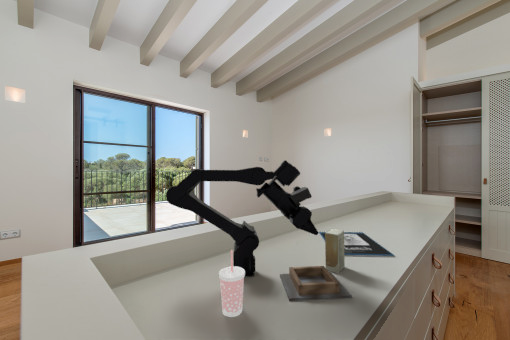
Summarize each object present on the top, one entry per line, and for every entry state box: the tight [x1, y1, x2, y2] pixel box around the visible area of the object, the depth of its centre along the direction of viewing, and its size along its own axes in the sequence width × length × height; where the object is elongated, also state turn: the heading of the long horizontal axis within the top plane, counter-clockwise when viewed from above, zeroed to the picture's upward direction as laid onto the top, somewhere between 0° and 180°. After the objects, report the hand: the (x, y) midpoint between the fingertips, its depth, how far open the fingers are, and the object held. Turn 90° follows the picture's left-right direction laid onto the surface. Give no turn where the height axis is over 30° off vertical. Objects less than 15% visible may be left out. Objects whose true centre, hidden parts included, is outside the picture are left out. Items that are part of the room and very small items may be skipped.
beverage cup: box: [218, 249, 245, 318], centre depth 52 cm, size 6×6×14 cm
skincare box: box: [324, 228, 346, 274], centre depth 73 cm, size 6×4×12 cm
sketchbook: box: [318, 230, 395, 258], centre depth 98 cm, size 22×30×2 cm
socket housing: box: [279, 265, 353, 302], centre depth 62 cm, size 16×13×3 cm
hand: (312, 230), depth 73 cm, fingers open, 9 cm apart
